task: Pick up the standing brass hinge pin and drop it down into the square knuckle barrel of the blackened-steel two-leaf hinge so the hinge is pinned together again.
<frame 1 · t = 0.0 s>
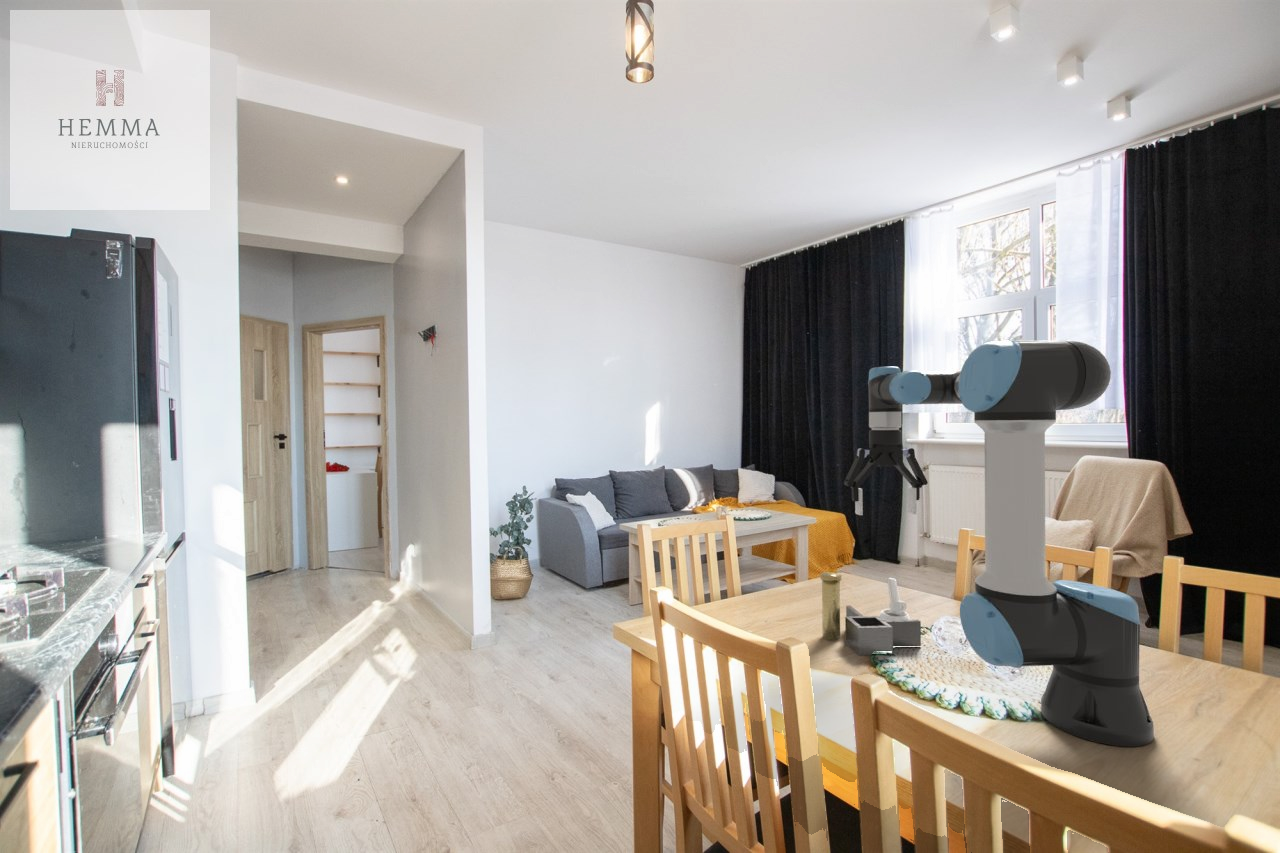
hand: (885, 514, 149), 28 cm above the table, fingers open, 13 cm apart
hinge pin: (831, 637, 142), on the table
hook: (894, 619, 155), on the table
hinge base: (868, 648, 135), on the table
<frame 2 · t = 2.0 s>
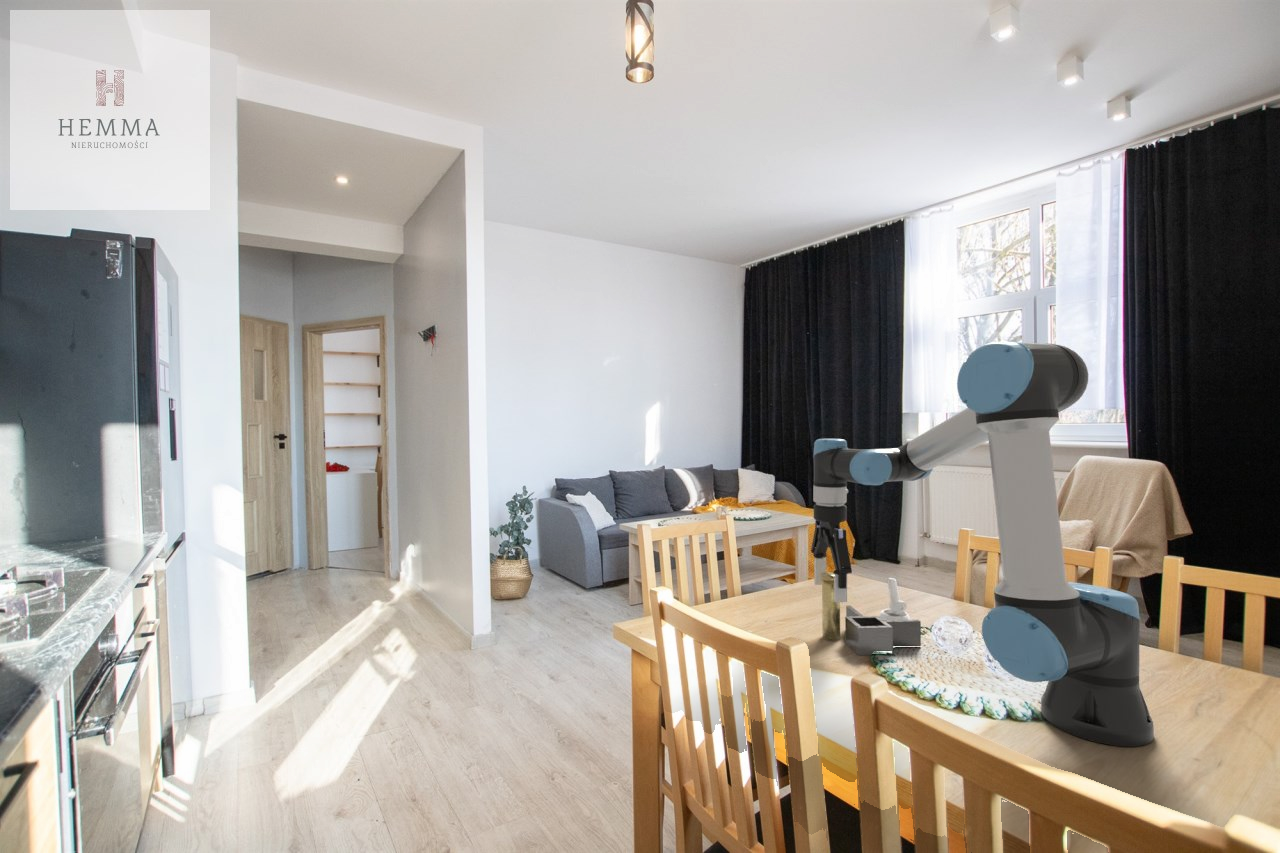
hand: (829, 592, 142), 11 cm above the table, fingers open, 13 cm apart
nothing on the table moved.
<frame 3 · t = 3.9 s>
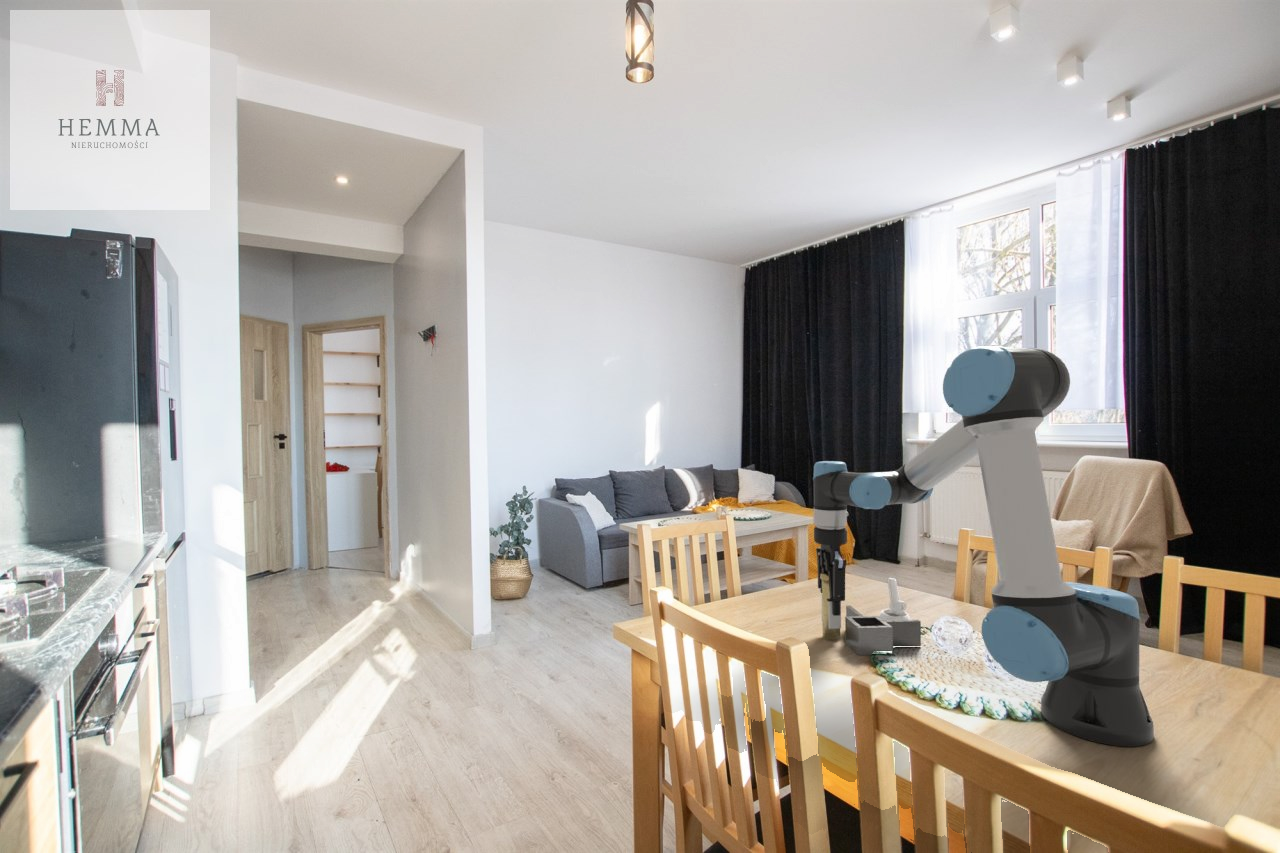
hand: (831, 624, 142), 3 cm above the table, fingers closed on hinge pin, 4 cm apart
hinge pin: (831, 637, 142), on the table, touching gripper
everything else where it was.
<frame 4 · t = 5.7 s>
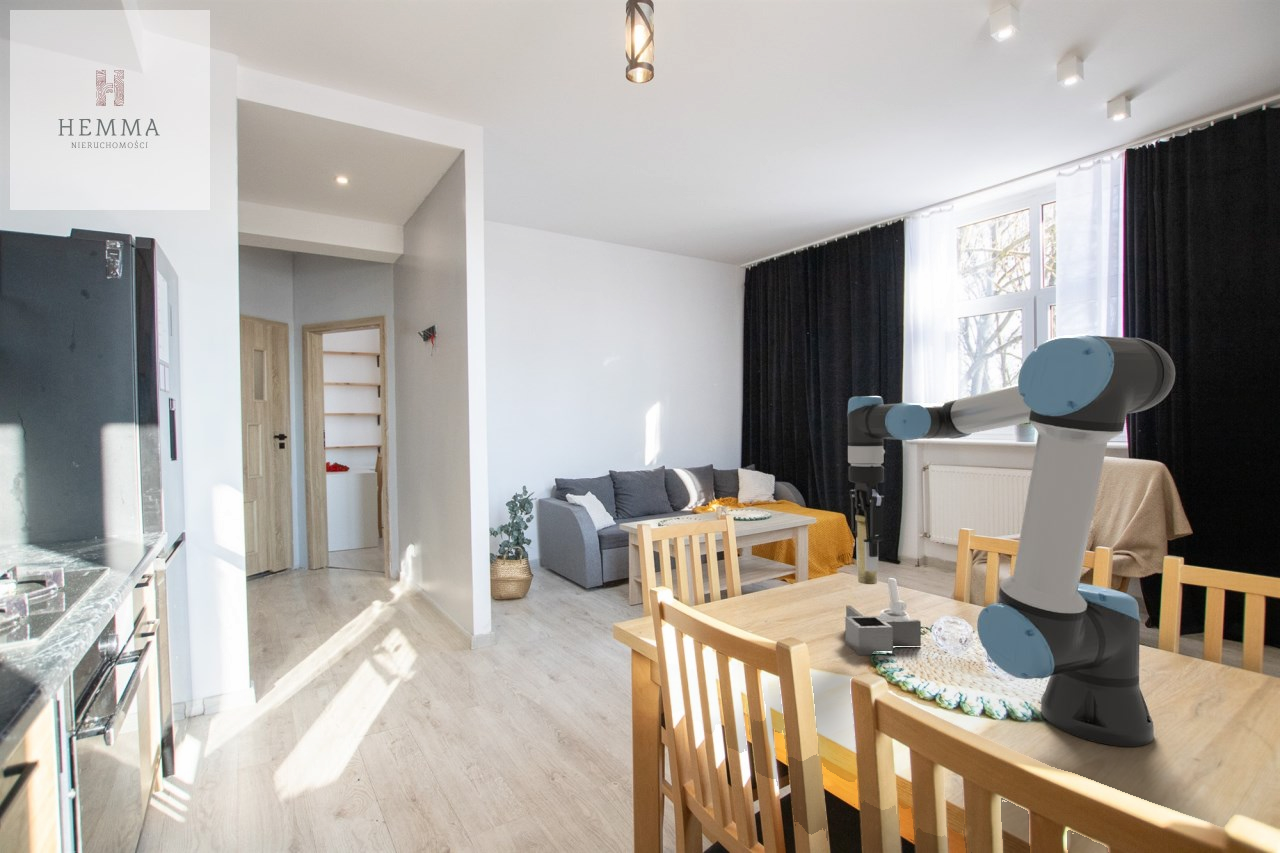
hand: (867, 567, 135), 18 cm above the table, fingers closed on hinge pin, 4 cm apart
hinge pin: (867, 581, 135), point 15 cm above the table, touching gripper
everything else where it was.
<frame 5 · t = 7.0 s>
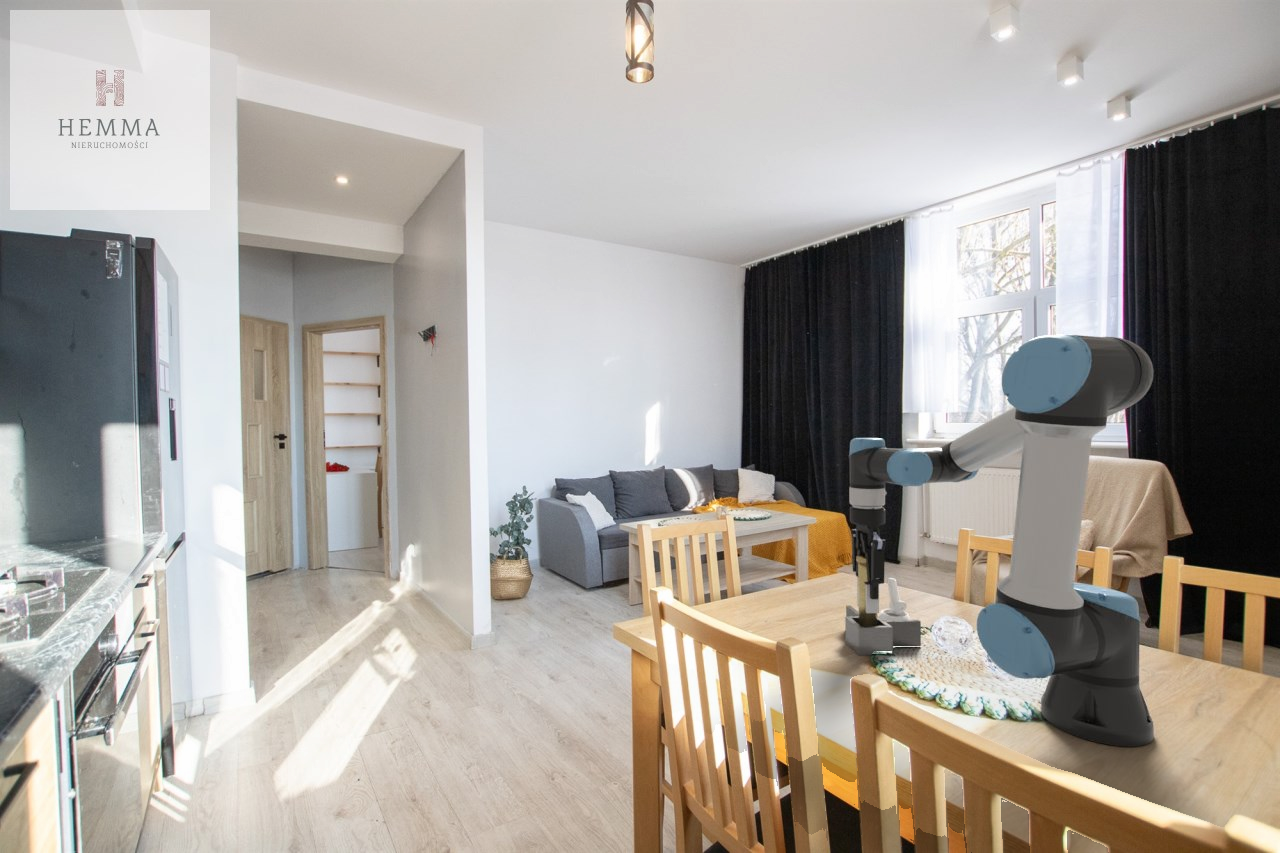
hand: (867, 608, 135), 9 cm above the table, fingers closed on hinge pin, 4 cm apart
hinge pin: (868, 623, 135), point 6 cm above the table, touching gripper
everything else where it was.
when the fingers open (7 cm above the table, at t = 7.9 s): hinge pin drops 4 cm, resting in hinge base.
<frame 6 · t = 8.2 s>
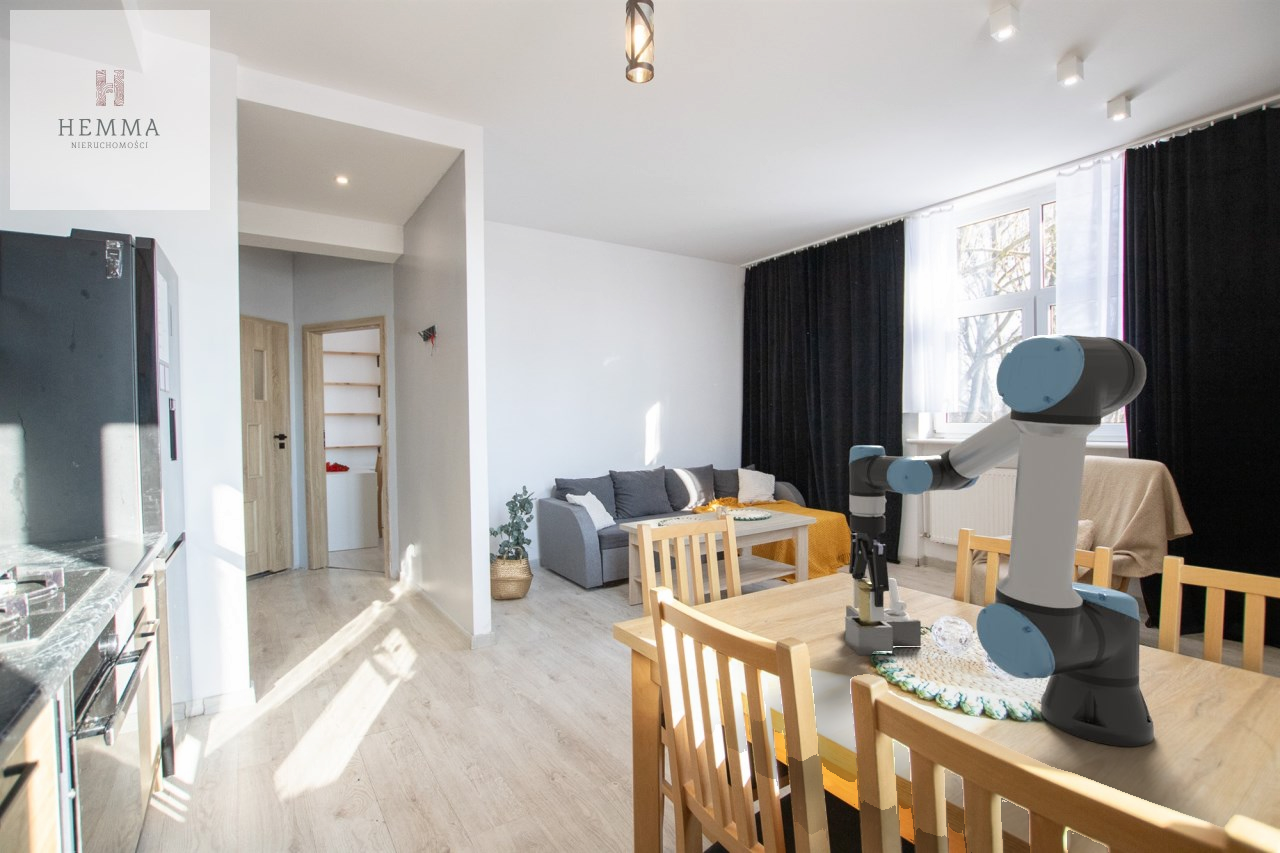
hand: (868, 613, 135), 8 cm above the table, fingers open, 8 cm apart
hinge pin: (868, 648, 135), resting in hinge base
everything else where it was.
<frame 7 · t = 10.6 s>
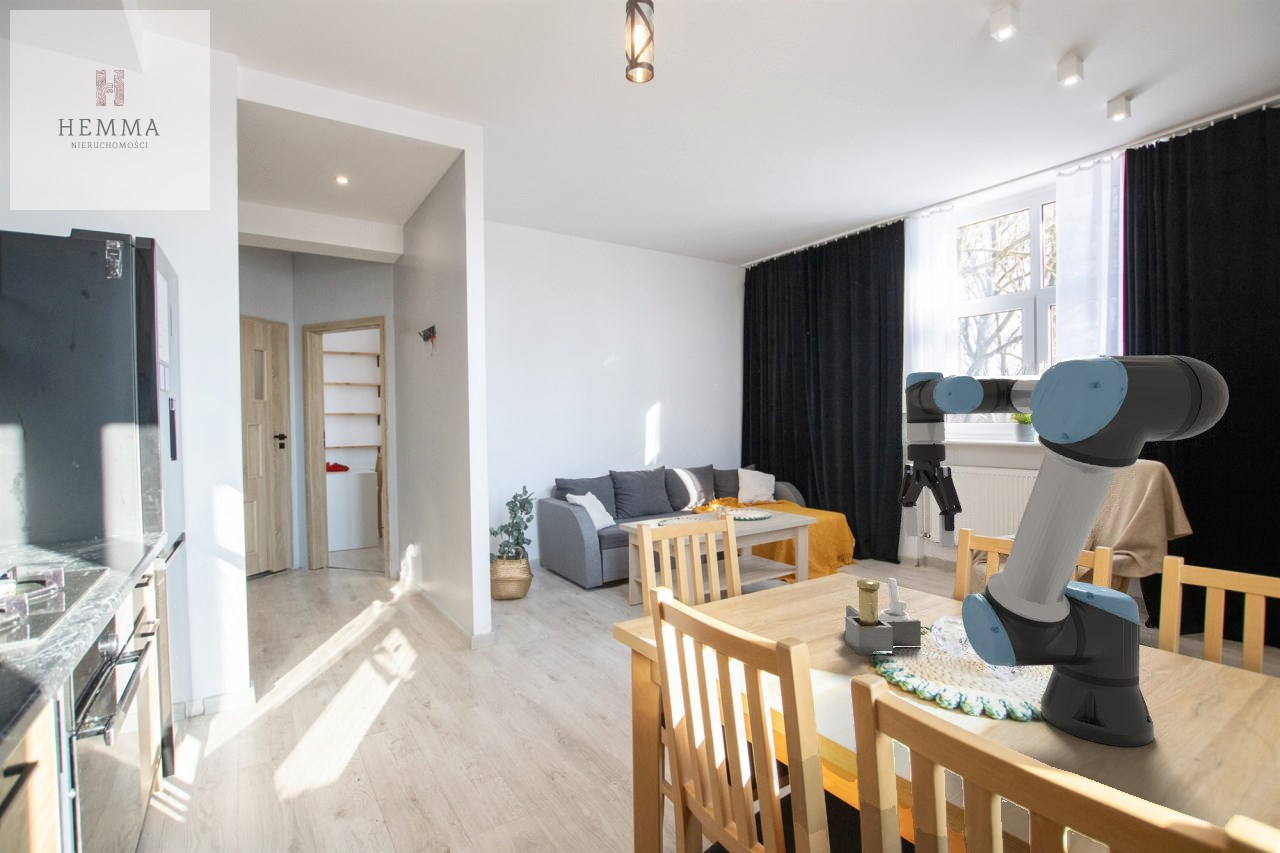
hand: (928, 541, 130), 25 cm above the table, fingers open, 13 cm apart
nothing on the table moved.
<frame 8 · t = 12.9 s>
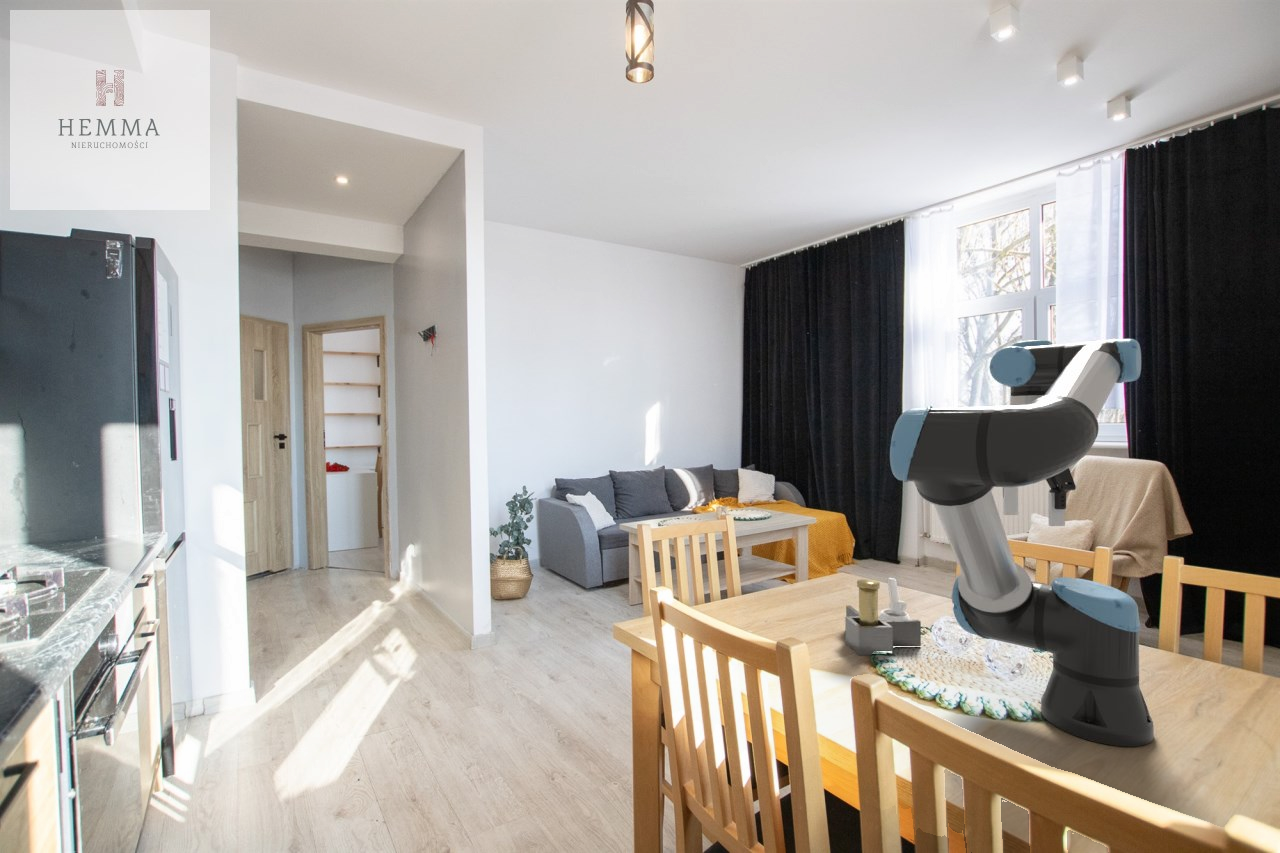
hand: (1032, 520, 123), 31 cm above the table, fingers open, 13 cm apart
nothing on the table moved.
at the end: hinge pin 0.1 cm off-centre on the hinge base, point 0.0 cm above the hinge base's base; hinge pin tilted 0°; the gripper is holding nothing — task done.
